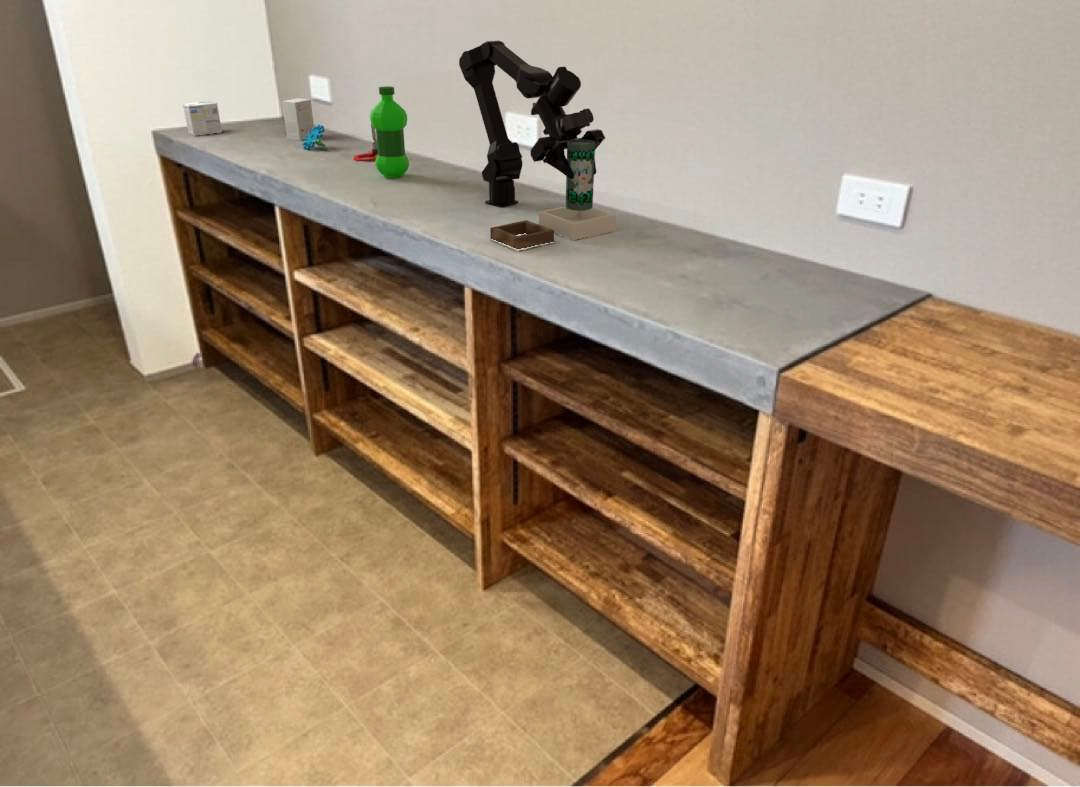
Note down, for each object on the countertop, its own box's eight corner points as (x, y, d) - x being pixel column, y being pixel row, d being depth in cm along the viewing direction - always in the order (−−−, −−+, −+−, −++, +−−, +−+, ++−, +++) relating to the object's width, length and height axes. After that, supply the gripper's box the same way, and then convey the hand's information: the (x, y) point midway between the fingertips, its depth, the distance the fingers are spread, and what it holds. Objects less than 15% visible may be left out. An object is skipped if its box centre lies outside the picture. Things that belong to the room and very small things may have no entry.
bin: (538, 228, 200) (538, 211, 198) (579, 218, 207) (580, 203, 205) (573, 241, 191) (573, 224, 189) (615, 231, 198) (615, 214, 196)
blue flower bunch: (297, 141, 284) (316, 119, 283) (311, 152, 288) (329, 130, 287) (306, 152, 276) (325, 129, 275) (319, 163, 280) (339, 140, 279)
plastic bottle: (377, 172, 251) (369, 85, 239) (412, 172, 251) (406, 84, 240) (373, 180, 242) (365, 90, 230) (409, 180, 243) (403, 89, 231)
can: (568, 211, 193) (570, 145, 186) (563, 204, 198) (565, 139, 191) (594, 210, 194) (597, 144, 186) (588, 203, 199) (591, 139, 192)
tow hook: (366, 164, 263) (387, 158, 269) (361, 122, 256) (382, 117, 263) (348, 161, 267) (369, 154, 274) (342, 119, 261) (364, 114, 267)
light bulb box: (216, 130, 310) (211, 100, 305) (223, 133, 305) (218, 102, 300) (187, 133, 304) (181, 103, 299) (193, 136, 299) (188, 105, 294)
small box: (302, 135, 302) (297, 97, 296) (315, 137, 300) (311, 99, 294) (286, 139, 296) (281, 100, 290) (300, 140, 293) (295, 102, 287)
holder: (490, 240, 191) (490, 227, 190) (526, 232, 197) (526, 220, 195) (517, 251, 184) (517, 238, 182) (554, 243, 190) (554, 230, 188)
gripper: (538, 100, 182) (569, 160, 180) (601, 93, 192) (631, 150, 190) (517, 131, 191) (546, 189, 189) (578, 123, 201) (607, 177, 199)
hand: (583, 176), depth 191 cm, fingers closed on can, 6 cm apart
